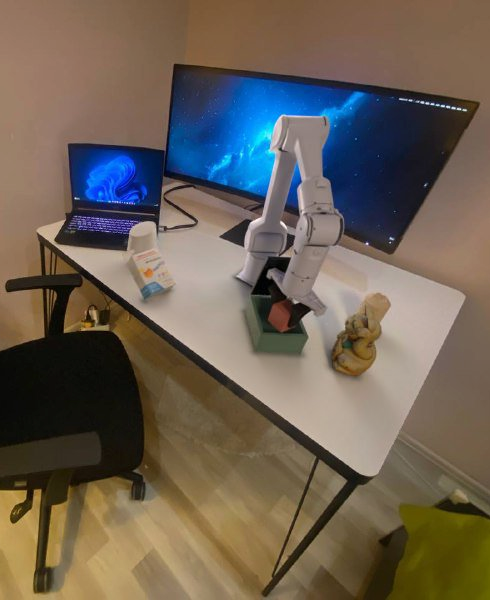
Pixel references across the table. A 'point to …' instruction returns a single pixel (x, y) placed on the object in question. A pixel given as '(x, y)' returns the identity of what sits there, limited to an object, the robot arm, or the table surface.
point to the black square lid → (262, 281)
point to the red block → (281, 315)
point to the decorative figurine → (356, 344)
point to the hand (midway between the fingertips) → (283, 319)
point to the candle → (375, 305)
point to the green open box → (272, 329)
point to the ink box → (149, 272)
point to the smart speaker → (142, 237)
